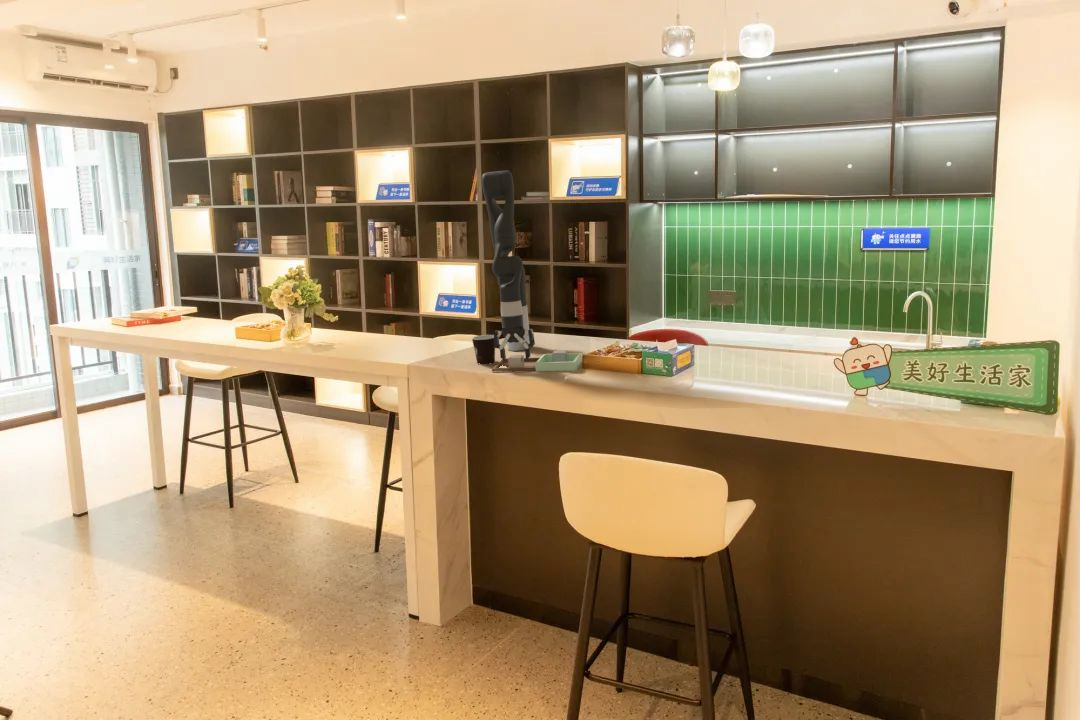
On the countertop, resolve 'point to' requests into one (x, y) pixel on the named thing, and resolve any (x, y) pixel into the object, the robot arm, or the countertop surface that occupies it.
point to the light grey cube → (516, 361)
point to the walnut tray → (528, 365)
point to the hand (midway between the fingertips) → (515, 359)
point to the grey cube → (560, 356)
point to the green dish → (558, 363)
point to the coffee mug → (484, 349)
